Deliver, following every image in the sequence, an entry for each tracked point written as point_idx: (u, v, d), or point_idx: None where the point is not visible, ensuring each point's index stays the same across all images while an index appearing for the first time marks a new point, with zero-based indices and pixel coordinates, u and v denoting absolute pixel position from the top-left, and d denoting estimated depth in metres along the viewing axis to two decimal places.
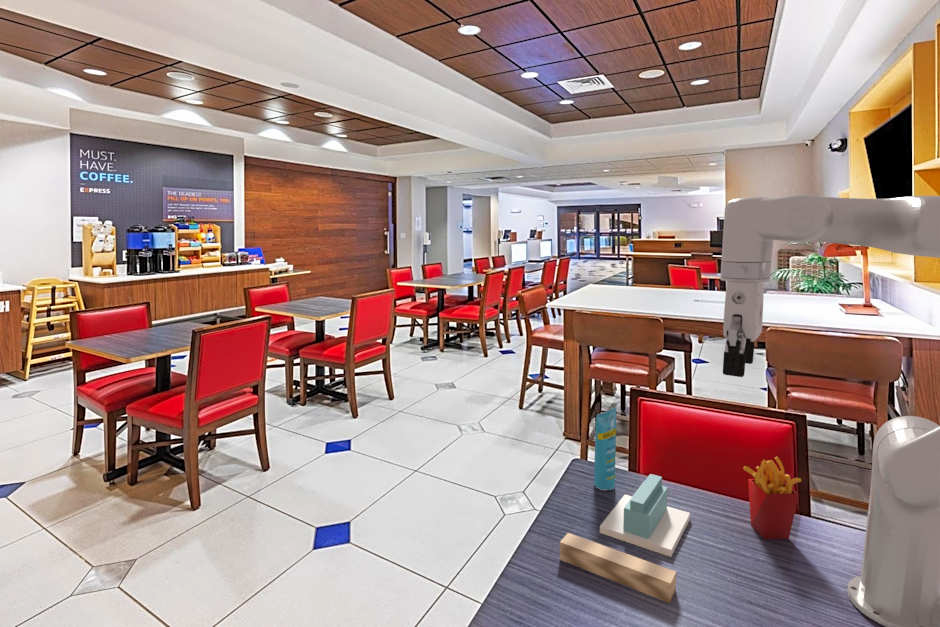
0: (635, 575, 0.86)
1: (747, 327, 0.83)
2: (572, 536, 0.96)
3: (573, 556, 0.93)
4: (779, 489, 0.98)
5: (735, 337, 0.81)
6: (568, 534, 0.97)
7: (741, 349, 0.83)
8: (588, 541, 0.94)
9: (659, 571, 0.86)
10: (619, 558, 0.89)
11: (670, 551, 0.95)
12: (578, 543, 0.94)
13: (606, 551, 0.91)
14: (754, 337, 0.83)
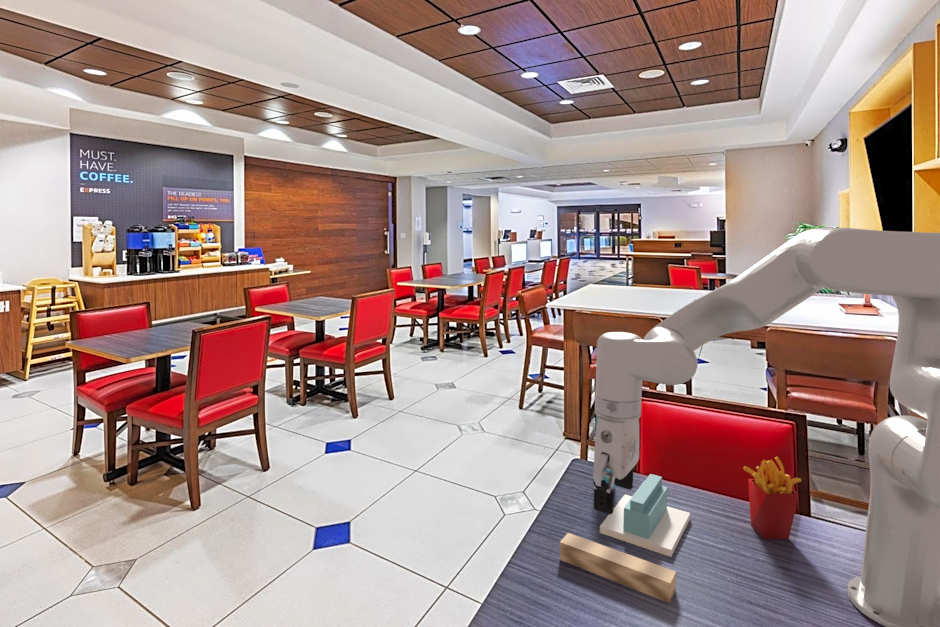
0: (635, 575, 0.86)
1: (614, 467, 0.82)
2: (572, 536, 0.96)
3: (573, 556, 0.93)
4: (779, 489, 0.98)
5: (599, 479, 0.80)
6: (568, 534, 0.97)
7: (608, 488, 0.82)
8: (588, 541, 0.94)
9: (659, 571, 0.86)
10: (619, 558, 0.89)
11: (670, 551, 0.95)
12: (578, 543, 0.94)
13: (606, 551, 0.91)
14: (621, 476, 0.82)
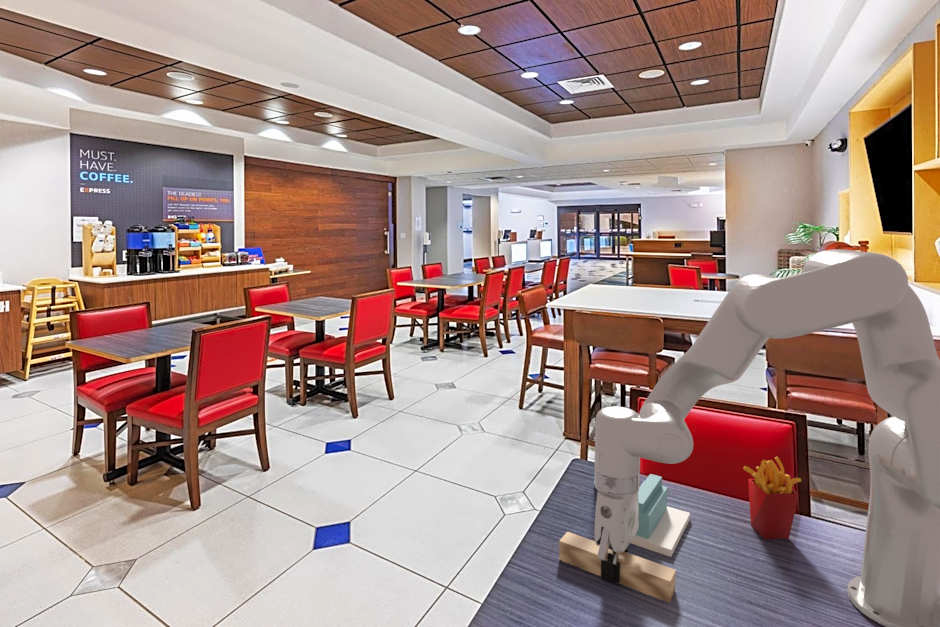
0: (635, 573, 0.86)
1: (614, 541, 0.84)
2: (572, 534, 0.96)
3: (573, 555, 0.93)
4: (779, 489, 0.98)
5: (605, 560, 0.85)
6: (567, 533, 0.97)
7: (614, 562, 0.87)
8: (587, 540, 0.94)
9: (659, 569, 0.86)
10: (618, 557, 0.89)
11: (670, 551, 0.95)
12: (577, 541, 0.94)
13: None
14: (621, 551, 0.84)
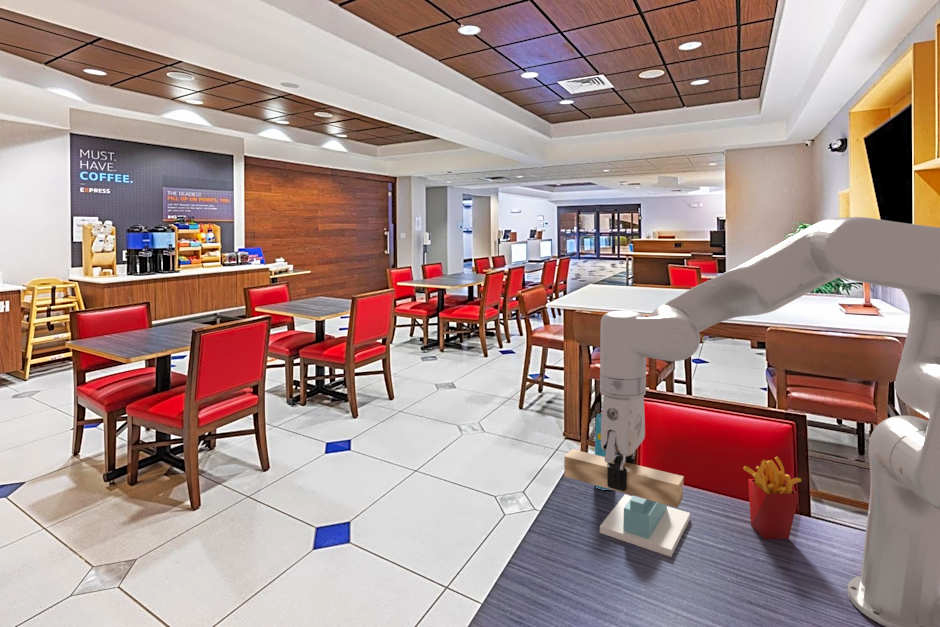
0: (642, 481, 0.85)
1: (621, 444, 0.83)
2: (577, 451, 0.95)
3: (578, 470, 0.92)
4: (779, 489, 0.98)
5: (612, 463, 0.83)
6: (572, 450, 0.95)
7: (621, 468, 0.85)
8: (593, 455, 0.93)
9: (666, 476, 0.85)
10: (625, 467, 0.88)
11: (670, 551, 0.95)
12: (583, 456, 0.93)
13: None
14: (628, 453, 0.83)
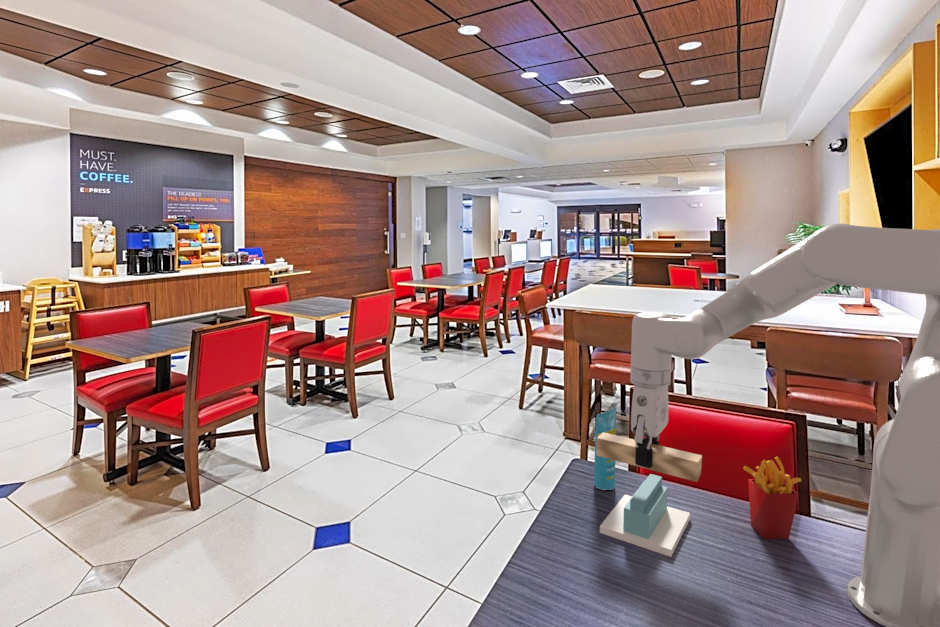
0: (666, 459, 0.99)
1: (649, 426, 0.96)
2: (607, 434, 1.08)
3: (609, 449, 1.05)
4: (779, 489, 0.98)
5: (640, 443, 0.97)
6: (603, 433, 1.09)
7: (648, 447, 0.99)
8: (622, 437, 1.07)
9: (687, 455, 0.98)
10: (651, 447, 1.01)
11: (670, 551, 0.95)
12: (613, 438, 1.06)
13: None
14: (655, 434, 0.96)
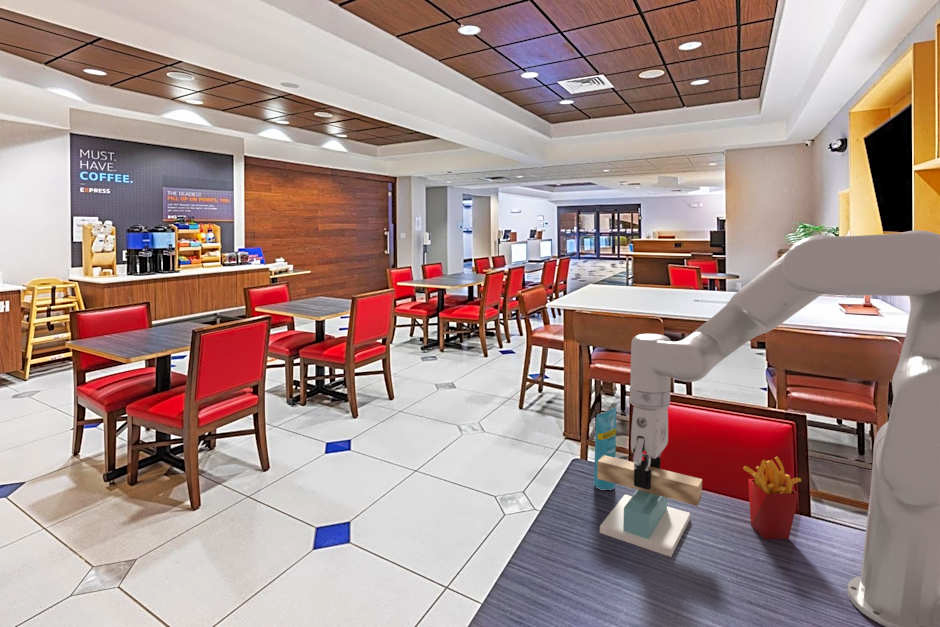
0: (666, 483, 0.99)
1: (649, 448, 0.97)
2: (608, 457, 1.09)
3: (610, 473, 1.06)
4: (779, 489, 0.98)
5: (639, 463, 0.96)
6: (604, 456, 1.10)
7: (646, 469, 0.98)
8: (622, 460, 1.07)
9: (687, 479, 0.99)
10: (651, 471, 1.02)
11: (670, 551, 0.95)
12: (614, 461, 1.07)
13: None
14: (655, 456, 0.97)
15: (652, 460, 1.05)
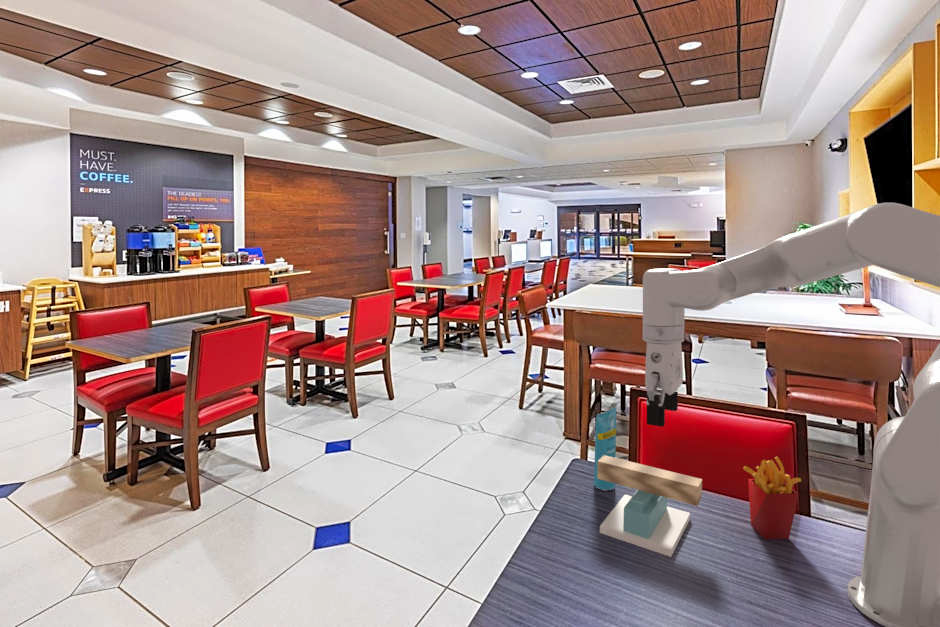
0: (666, 483, 0.99)
1: (664, 383, 0.94)
2: (608, 457, 1.09)
3: (610, 473, 1.06)
4: (779, 489, 0.98)
5: (652, 393, 0.92)
6: (604, 456, 1.10)
7: (660, 403, 0.94)
8: (622, 460, 1.07)
9: (687, 479, 0.99)
10: (651, 471, 1.02)
11: (670, 551, 0.95)
12: (614, 461, 1.07)
13: (639, 467, 1.04)
14: (671, 392, 0.94)
15: (669, 394, 1.03)
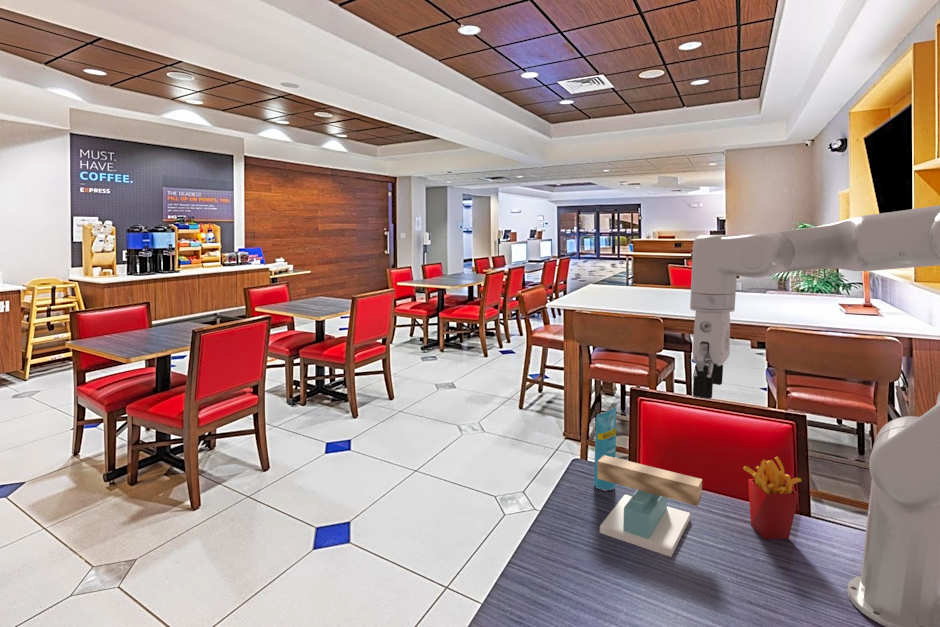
0: (666, 483, 0.99)
1: (714, 353, 0.90)
2: (608, 457, 1.09)
3: (610, 473, 1.06)
4: (779, 489, 0.98)
5: (702, 363, 0.89)
6: (604, 456, 1.10)
7: (708, 374, 0.90)
8: (622, 460, 1.07)
9: (687, 479, 0.99)
10: (651, 471, 1.02)
11: (670, 551, 0.95)
12: (614, 461, 1.07)
13: (639, 467, 1.04)
14: (720, 362, 0.91)
15: (714, 368, 1.00)
